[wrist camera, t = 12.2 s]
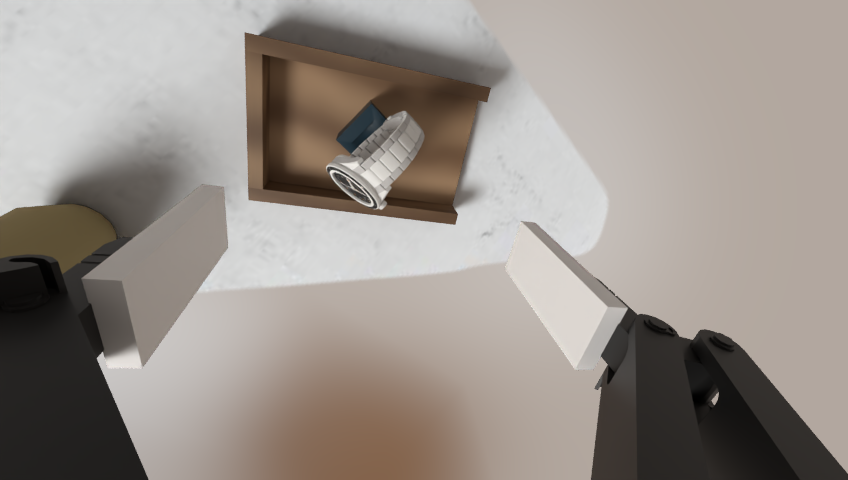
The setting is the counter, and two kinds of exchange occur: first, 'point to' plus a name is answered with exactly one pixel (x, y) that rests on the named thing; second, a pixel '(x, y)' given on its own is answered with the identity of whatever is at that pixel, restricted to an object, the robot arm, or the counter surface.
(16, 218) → the squeeze bottle
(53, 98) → the counter surface
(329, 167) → the watch
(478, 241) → the counter surface
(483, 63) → the counter surface
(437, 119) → the walnut track
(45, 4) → the counter surface
